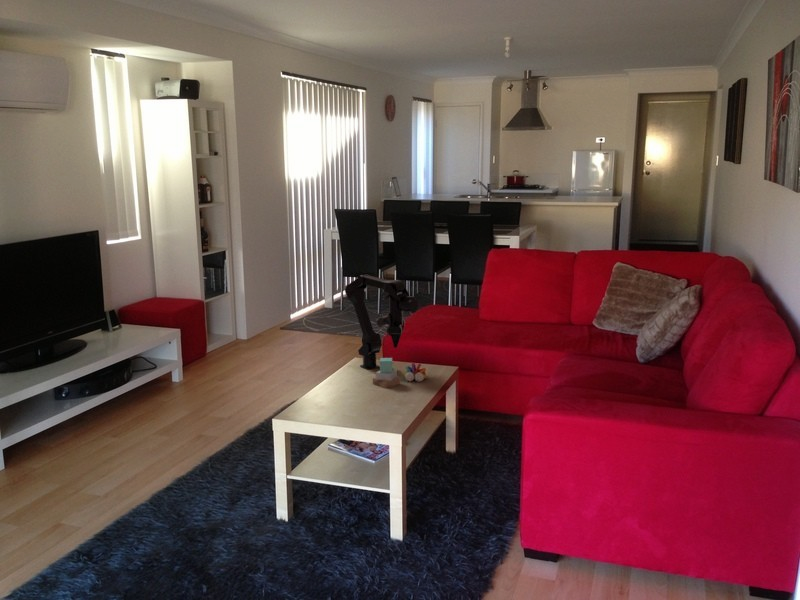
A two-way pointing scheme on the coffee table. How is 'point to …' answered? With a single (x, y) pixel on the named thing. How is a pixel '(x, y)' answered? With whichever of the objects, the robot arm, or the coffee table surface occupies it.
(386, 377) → the tower mid
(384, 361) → the teal cube
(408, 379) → the rainbow segmented toy
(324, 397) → the coffee table surface
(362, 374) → the coffee table surface
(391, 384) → the tower base
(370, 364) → the robot arm
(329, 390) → the coffee table surface
